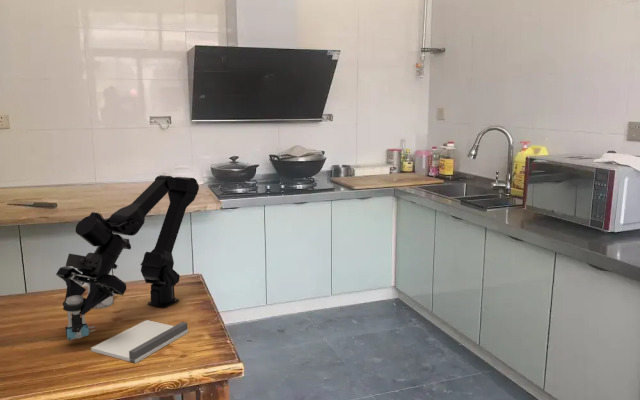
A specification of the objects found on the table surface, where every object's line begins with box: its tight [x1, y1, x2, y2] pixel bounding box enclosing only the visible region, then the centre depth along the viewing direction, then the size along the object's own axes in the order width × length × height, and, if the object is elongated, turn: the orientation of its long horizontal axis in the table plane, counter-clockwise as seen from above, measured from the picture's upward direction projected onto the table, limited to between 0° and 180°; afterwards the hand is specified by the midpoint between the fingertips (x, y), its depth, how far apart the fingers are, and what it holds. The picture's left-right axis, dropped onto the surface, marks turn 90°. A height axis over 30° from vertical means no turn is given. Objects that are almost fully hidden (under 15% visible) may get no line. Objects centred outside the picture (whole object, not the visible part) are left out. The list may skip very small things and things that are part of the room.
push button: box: [62, 295, 96, 341], centre depth 124 cm, size 7×5×10 cm
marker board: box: [90, 319, 189, 364], centre depth 126 cm, size 18×14×2 cm
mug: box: [86, 283, 116, 310], centre depth 151 cm, size 10×7×7 cm
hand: (73, 312), depth 123 cm, fingers closed on push button, 5 cm apart
